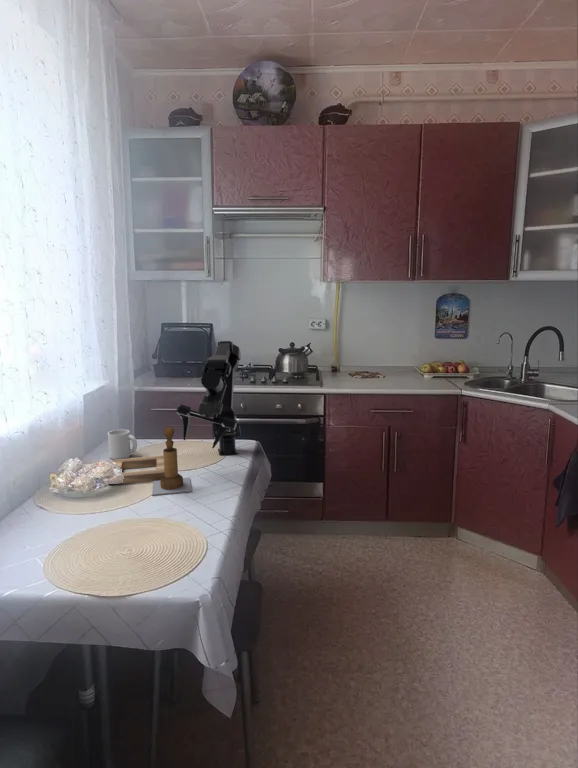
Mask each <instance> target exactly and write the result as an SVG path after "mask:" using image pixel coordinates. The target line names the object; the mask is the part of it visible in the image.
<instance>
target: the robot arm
mask: <svg viewBox="0 0 578 768" xmlns="http://www.w3.org/2000/svg"><path fill="white" fill-rule="evenodd" d="M241 356H242V355H241V349H240V347H239V346H238V345H236V344H234V342H233V341H231V340H220V341H218V342H217V346H216V350H215V353H214V355H213V356H209V357H208V358H207V359H206V362H204V366H203V369H202V373H201V374H202V375H201V376H202V377H201V378H200V379H201V380H200V382H201V385H202V387H203V388H204V389H205V393H204V397H203V399H202V400H201V401H200V402H199V405H198V408H197V411H196V410H193V408H192V407H190V406H187V405H184V404H179V405H178V406H177V407H176V411H175V413H176V414H177V415H178V416H179V418H180V419H182V425H183V426H182V427H183V440H184V441H186V440H187V438H188V433H189V429H190V425H191V420H192V419H191V417H193V418H197V419H200V420H203V421H206V422H211V423H212V427H213V428H212V429H213V430H212V431H213V437H214V438H215V439H214V440H213V444H212V447H211V448H212V449H214V448H215V447H216V446H217V445H218V443H219V448H217V452H218V455H219V456H225V455H227V456H228V455H236V454H237V455H238V453H239V452H238V450H237V447H236V438H238V437H240V436H241V426H240V424H239V420H237V419H238V418H237V416H236V413H235V412H234V410H233V409H234V408H233V406H234V384H235V372H236V371H237V369H238V368H239V365H240V361H241V359H242V357H241Z"/></svg>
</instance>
